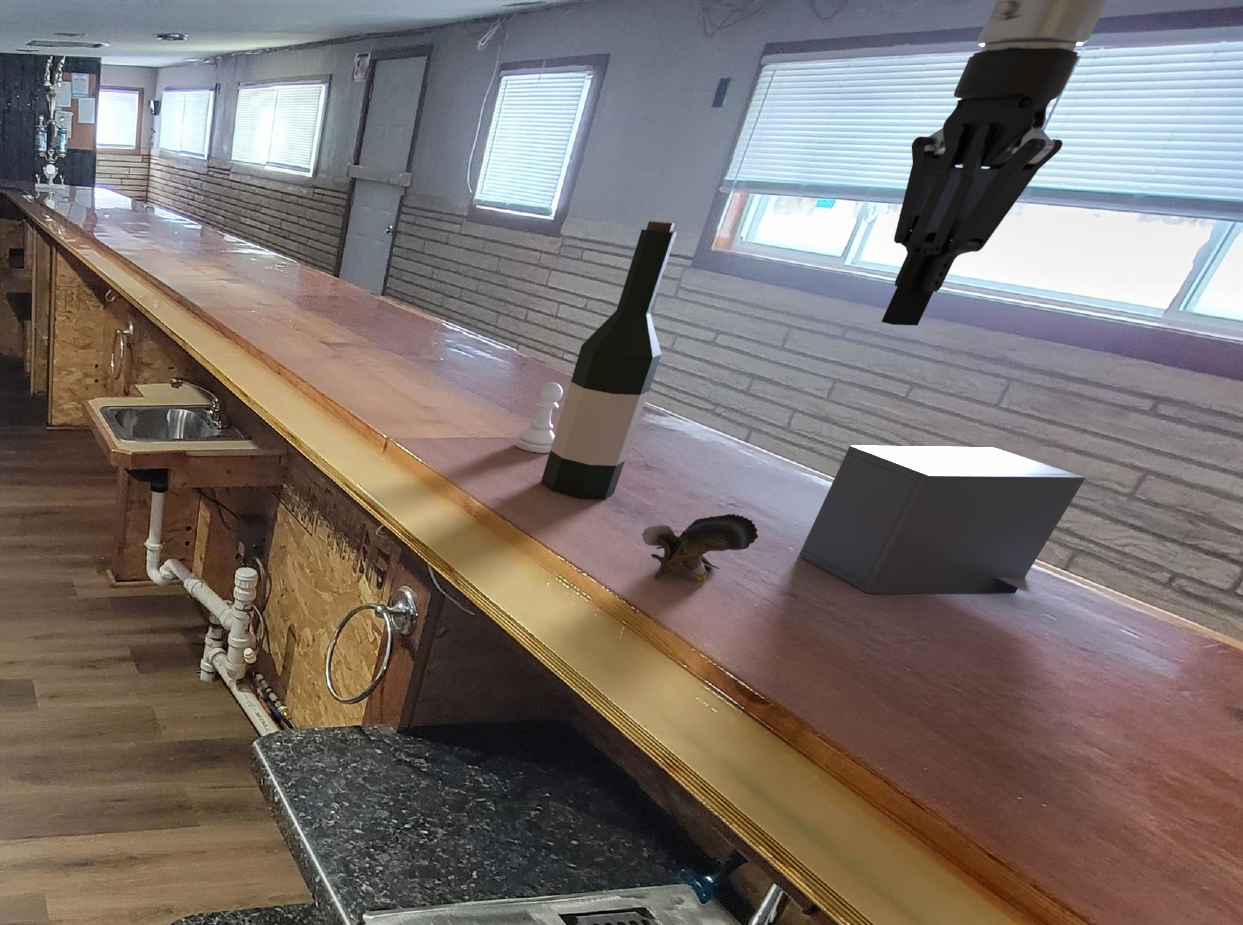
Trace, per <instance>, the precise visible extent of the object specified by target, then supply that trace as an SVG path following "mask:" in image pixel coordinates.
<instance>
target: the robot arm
mask: <svg viewBox="0 0 1243 925" xmlns="http://www.w3.org/2000/svg"><path fill="white" fill-rule="evenodd" d="M1107 2H1108V0H994V2H993V4H992V7H991V8H990V11H989V14H988V15H987V18H986V20H985V22H984V25H983V27H982V29H981V31H980V34H979V36H978V39H977V41H976V43H977V45H978V46H980V47H982V48H981V50H980V51H978V52H975V53H973V55H972V56H969V57H968V60H967V62H966V65H965V67H964V69H963V71H962V73H961V76H960V78H959V80H958V83H957V85H956V88H955V89H954V92H953V97H954V98H955V99H956V100H957V104H956V106H955V108H954V109H953V111H952V112H951V113H950V115H949V116H948V117H947V118H946V119H945V120H944V123H943V127H942V128H940V129H939V130H937V131H936V132H934V133H932V134H930V135H929V136H918V137H916V138H915V139H914V140H913V142H912V143H911V158H912V165H911V169H910V171H909V172H910V173H909V176H908V177H909V178H908V181H907V185H906V188H905V193H904V197H903V201H902V204H901V209H900V213H899V216H898V221H897V225H896V229H895V233H894V237H893V242H894V243H895V244H900V245H902V246H903V247H905V250H906V252H907V253H906V256H905V258H904V261H903V262H902V265H901V267H900V270H899V272H898V274H897V276H896V278H895V280H894V281H895V282H894V287H896V289H895V291H894V293H893V295H892V297H891V299H890V301H889V305H888V306H887V308H886V310H885V312H884V315H883V317H882V320H881V323H884V324H888V325H893V326H919V324H920V322H921V319H922V318H923V316H924V314H925V310H926V308H927V307H928V304H929V302H930V301H931V298H932V296H933V294H934V293H937V292H938V291H939V290H941V288H942V286H943V284H944V282H945V280H946V278H947V276H948V273H949V272H950V270H951V268H952V265H953V263H954V262H955V260H956V259H957V257H960V255H964V254H968V253H971V252H973V253H977V252H979V251H981V250H982V249H983V248H984V247H985V246H986V244H987V242H988V241H989V240H990V238H991V237H992V236H993V234H994V233H995V231H996V230H997V229H998V227H999V226H1000V224H1001V223H1002V222H1003V220H1004V219H1005V218H1006V216H1007V215H1008V213H1009V212H1010V210H1011V209H1012V207H1013V206H1014V205H1015V204H1016V202H1017V200H1018V199H1019V198H1020V197H1021V195H1022V194H1023V192H1024V191H1025V189H1026V188H1027V187H1028V185H1029V184H1030V183H1031V181H1032V179H1033V178H1034V177H1035V175H1036V174H1037V173H1038V171H1039V170H1040V169H1041V168H1042V167H1043V166H1044V165H1046V164H1047V162H1049V161H1050V160H1051V159H1052V158H1053V157H1054V156H1055V155H1056V154H1058V153H1059V152H1060V151H1061V149H1062V147H1063V141H1062V139H1055V138H1050V137H1049V135H1047V133H1046V132H1045V131H1044V130H1043V127H1044V126H1045V124H1046V121H1047V109H1048V107H1049V105H1050V103H1051V102H1052V101H1055V100H1056V99H1058V98H1059V97H1060V96H1061V95H1062V93H1063V92H1064V89H1065V88H1066V86H1067V84H1068V82H1069V80H1070V78H1071V76H1072V73H1073V72H1074V69H1075V67H1076V66H1077V64H1078V61H1079V60H1080V55H1079V52H1077V51H1075V49H1076V48H1077V46H1082V45H1084V44H1085V43H1087V42H1088V41H1089V39H1090V38H1091V35H1092V33H1093V31H1094V29H1095V27H1096V25H1097V23H1098V21H1099V18H1100V16H1101V15H1102V12H1103V10H1104V8H1105V6H1106V5H1107Z"/></svg>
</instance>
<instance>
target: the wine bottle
mask: <svg viewBox="0 0 1243 925" xmlns="http://www.w3.org/2000/svg"><path fill="white" fill-rule="evenodd" d="M675 225H676V222H672V221H671V222H670V221H657V220H656V221H655V220H650V221H648V223H647V225H646V228H644V229H643V228H642V229H641V230H640V234H639V236H638V240H637V243H636V246H635V250H634V253H633V256H632V259H631V263H630V265H629V269H628V272H627V275H626V279H625V281H624V285H623V289H622V292H621V295H620V298H619V301H618V304H617V307H616V310H615V311H614V312H613V313H612V314H611V315H610V316H609V317H608V318H607V319H606V320H605V321H604V322H603V323H602V324H601V325H600V326H599V327H598V328H597V329H596V330H595V331H594V332H593V333H592V334H591V335H590V336H589V337H588V338H587V339H586V340H585V341H584V342H583V343H582V344H581V346H580V350H579V353H578V356H577V359H576V363H575V366H574V370H573V373H572V376H571V380H570V382H569V387H568V389H567V394H566V397H565V400H564V403H563V406H562V410H561V413H560V415H559V420H558V424H557V426H556V429H555V433H554V435H555V436H554V440H553V443H552V446H551V450H550V453H548V457H547V459H546V464H545V467H544V470H543V474H542V476H541V480H540V483H541V482H542V483H541V484H542V485H544V486H545V485H546V486H547V487H546V486H545V487H546V488H548V489H549V488H550V489H551V490H552V492H554V491H557V492H556V493H558V492H560V493H559V494H561V493H562V494H561V495H565V494H567V495H566V496H569V497H573V498H577V499H590V500H606V499H607V498H609V497H610V496H612V495H613V494H615V491H616V489H617V485H618V483H619V480H620V478H621V474H622V471H623V468H624V465H625V462H626V459H627V457H628V453H629V450H630V447H631V445H632V442H633V439H634V436H635V433H636V431H637V427H638V425H639V421H640V418H641V416H642V412H643V409H644V406H645V404H646V401H647V398H648V395H649V392H650V390H651V386H652V383H653V380H654V377H655V375H656V372H657V368H658V366H659V363H660V360H661V357H662V350H661V347H660V344H659V339H658V336H657V333H656V329H655V325H654V322H653V318H652V315H651V311H652V308H653V305H654V303H655V300H656V296H657V294H658V290H659V287H660V286H661V282H662V279H663V276H664V273H665V269H666V268H667V263H668V260H669V257H670V254H671V251H672V248H673V245H674V242H675V239H676V236H677V231H673V230H674V228H675ZM550 489H549V490H550ZM551 490H550V491H551Z"/></svg>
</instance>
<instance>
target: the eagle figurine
mask: <svg viewBox="0 0 1243 925" xmlns="http://www.w3.org/2000/svg"><path fill="white" fill-rule="evenodd" d="M757 532H758V528H757V527H756V524H755V523H753V520H752V519H749V518H748V517H744V515H739V514H735V513H732V514H731V513H728V514H724V515H715V516H709V517H702V518H701V517H700V518H697V519H695V520H694V521H693V522H692V523H691V524H690V525H688V527H687V528H685V530H683V531H682V533H681V534H680V535H676V534H675V532H674V530H672V528H671V527H670V526H669V525H662V524H661V525H654V526H648V527H647V528H644V530H643V532H642V534H641V536H642V540H643V542H644V543H645V545H647V546H653V547H656V548H655V549H656V550H659V549H664V550H663V551H664V552H663V556H660V555H659V554H656V553H651V554H650V556H651V558H652V559H656V560H657V561H659V563H660V566H659V569H658V571H657V572H656V574H655V576H654V579H656V580H657V579H659V578H662V577H664V576H665V575H669V574H670V573H671V572H672V571H673V570H674V569H675V568H676V567H677V566H678V565H679V564H681V565H682V566H684V568H687V569H689V570H690V571H692V573H693V574H694V575H695V576H696V577H697V578H698V579H700V581H701V583H702V584H705V583H706V577H707V575H708V572H707V570H706V568H705V566H704V565H706V566H710V567H712V568H714V569H717V570H720V567H719V566H717V565H715V564H713V563H712V562H711V561H709V560H708V558H707V556H706V555H705V554H707V553H708V552H724V551H725V552H726V551H729V550H730V551H741V550H745V549H748V548H749V547H750V545H751V544H753V543H755V540H757V539H758V538H759V536H758V535H759V534H758V533H757Z"/></svg>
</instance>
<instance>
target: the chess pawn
mask: <svg viewBox="0 0 1243 925" xmlns="http://www.w3.org/2000/svg"><path fill="white" fill-rule="evenodd" d="M538 392H539V393H538V397H539V399H540V400H538V401H537V402H536V403H535V406H537V407H540V408H539V410H538V413H537V415H536V417H535V419H534V420H533V421H530V423H529V427H528V428H526V429H524V430H522V431H521V432H519V434H518V438H517V440H516V442H515V446H516V447H517V448H519V449H521V450H522V451H526V452H530V453H535V452H536V453H537V454H549V453H548V452H550V450H551V446H552V443H553V440H554V436H555V433H553V431H552V429H553V428H554V425H553V424H552V422H551V419H552V418H551V417H552V413H553V410H554V409H555V410H556V409H559V404H558V403H557V402H558V401H559V400H560V399H561V398H562V396H563V388H562V386H561V385H560V384H558V383H556V382H548V383H544V384H543V385H542V386H541V387H540V388H539V391H538ZM536 453H535V454H536Z"/></svg>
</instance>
